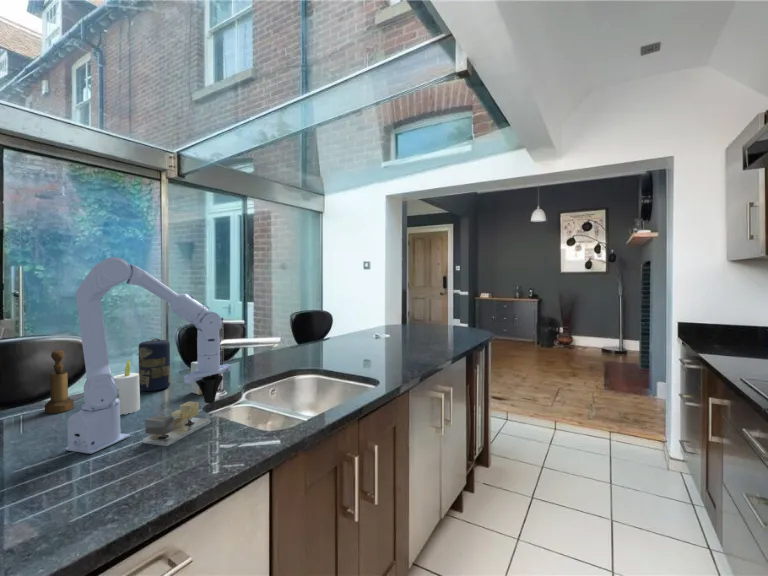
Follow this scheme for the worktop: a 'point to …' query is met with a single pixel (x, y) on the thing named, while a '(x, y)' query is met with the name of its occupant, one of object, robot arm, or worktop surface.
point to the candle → (128, 391)
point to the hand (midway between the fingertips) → (209, 402)
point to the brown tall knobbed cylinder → (58, 387)
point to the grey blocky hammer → (162, 424)
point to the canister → (154, 365)
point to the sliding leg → (187, 411)
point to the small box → (194, 385)
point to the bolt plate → (177, 432)
